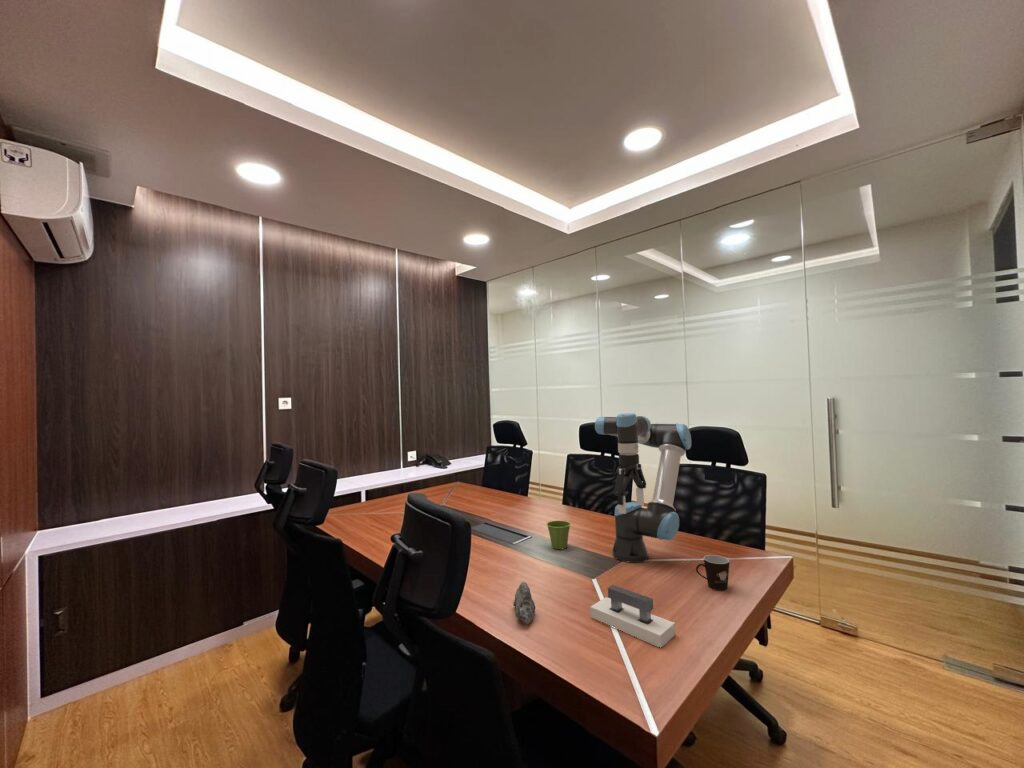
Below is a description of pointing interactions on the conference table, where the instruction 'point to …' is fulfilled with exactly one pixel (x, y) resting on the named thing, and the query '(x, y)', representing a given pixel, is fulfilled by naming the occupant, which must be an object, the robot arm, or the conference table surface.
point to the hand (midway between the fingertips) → (631, 509)
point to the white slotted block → (634, 623)
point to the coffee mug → (716, 571)
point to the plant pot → (559, 533)
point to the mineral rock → (524, 603)
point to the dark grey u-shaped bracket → (631, 602)
